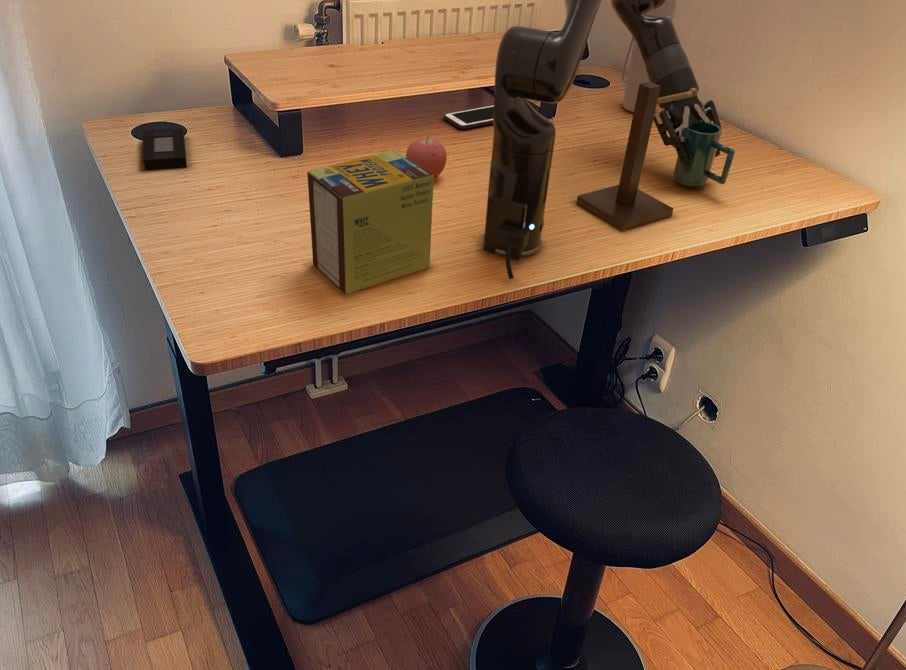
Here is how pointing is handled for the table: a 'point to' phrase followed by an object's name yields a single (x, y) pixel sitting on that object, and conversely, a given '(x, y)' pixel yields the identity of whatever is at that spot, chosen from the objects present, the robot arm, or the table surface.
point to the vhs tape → (164, 149)
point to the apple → (428, 155)
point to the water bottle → (641, 59)
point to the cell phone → (471, 117)
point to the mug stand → (633, 170)
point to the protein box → (370, 219)
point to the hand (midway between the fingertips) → (702, 160)
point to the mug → (702, 156)
